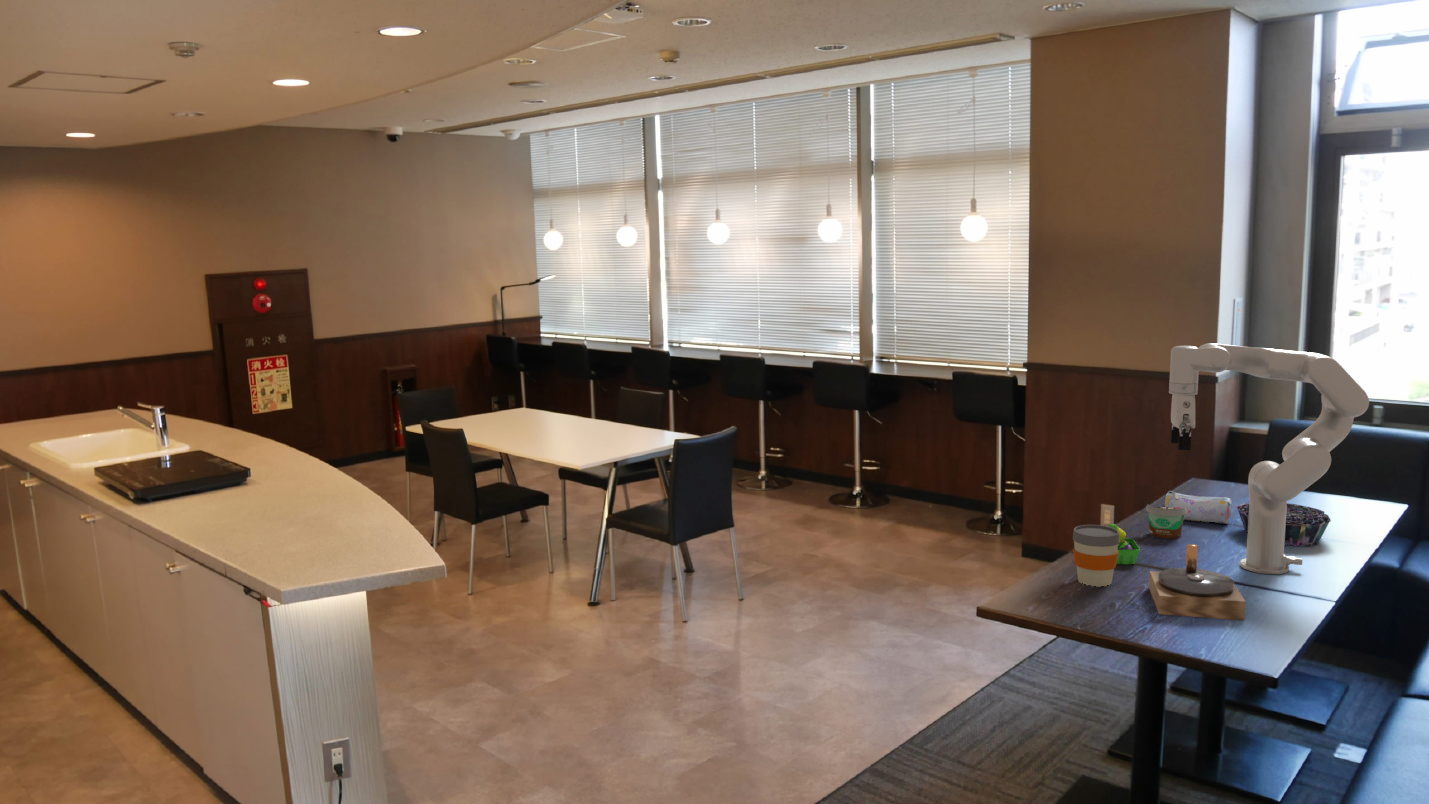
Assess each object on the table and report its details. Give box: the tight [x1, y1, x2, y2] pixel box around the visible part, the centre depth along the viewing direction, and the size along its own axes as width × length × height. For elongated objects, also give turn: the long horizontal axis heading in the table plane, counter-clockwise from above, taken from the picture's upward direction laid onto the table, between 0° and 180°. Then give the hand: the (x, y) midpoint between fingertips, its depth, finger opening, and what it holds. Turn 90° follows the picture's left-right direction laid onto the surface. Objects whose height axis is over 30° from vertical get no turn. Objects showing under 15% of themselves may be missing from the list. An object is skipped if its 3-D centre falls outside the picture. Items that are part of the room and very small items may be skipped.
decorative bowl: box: [1236, 502, 1332, 547], centre depth 318 cm, size 26×28×10 cm
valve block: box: [1148, 570, 1246, 621], centre depth 263 cm, size 20×20×5 cm
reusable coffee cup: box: [1072, 524, 1120, 588], centre depth 281 cm, size 13×12×15 cm
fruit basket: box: [1107, 523, 1141, 565], centre depth 300 cm, size 11×9×11 cm
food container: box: [1145, 503, 1187, 540], centre depth 321 cm, size 12×6×10 cm, turn 68°
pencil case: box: [1162, 490, 1233, 525], centre depth 339 cm, size 21×9×10 cm, turn 52°
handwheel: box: [1158, 543, 1235, 596], centre depth 262 cm, size 18×18×9 cm
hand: (1180, 446), depth 289 cm, fingers open, 9 cm apart
